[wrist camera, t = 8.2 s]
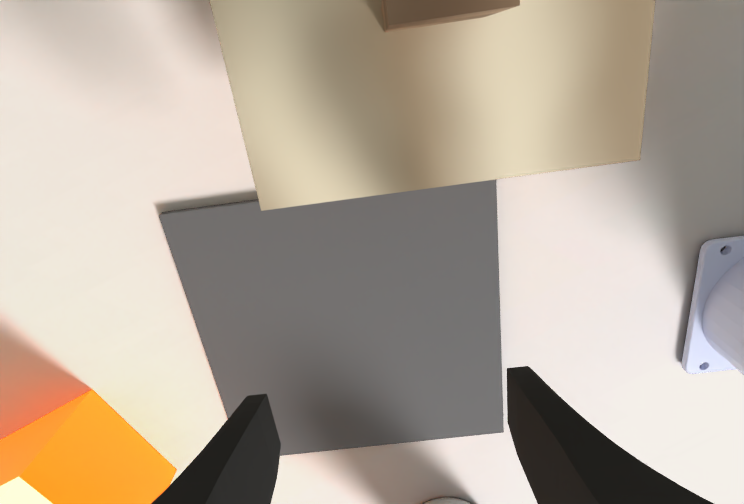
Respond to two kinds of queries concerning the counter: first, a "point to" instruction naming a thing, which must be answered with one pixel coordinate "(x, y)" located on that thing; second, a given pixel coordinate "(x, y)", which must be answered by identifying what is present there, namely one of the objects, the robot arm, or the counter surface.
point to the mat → (351, 313)
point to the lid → (431, 91)
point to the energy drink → (447, 501)
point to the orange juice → (81, 459)
